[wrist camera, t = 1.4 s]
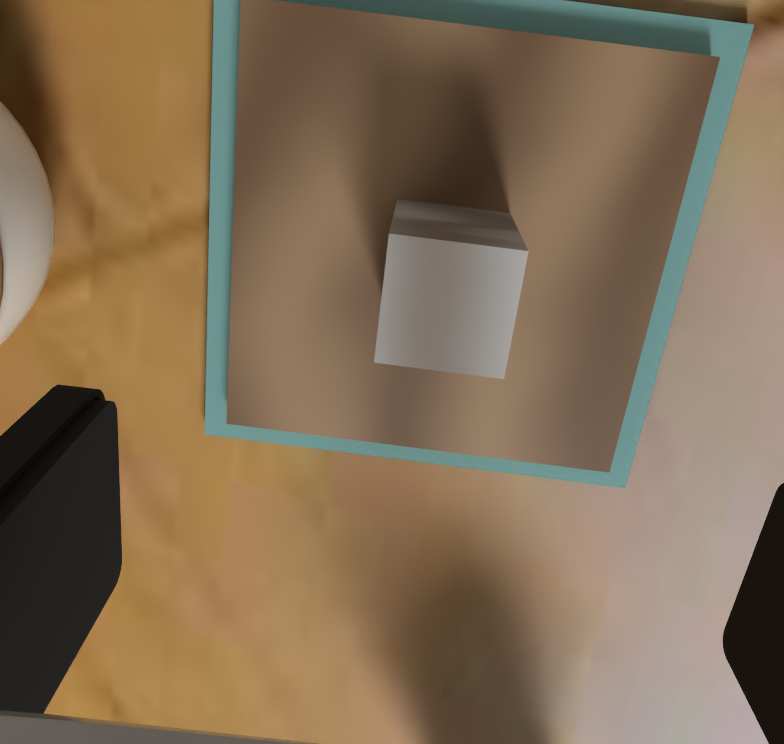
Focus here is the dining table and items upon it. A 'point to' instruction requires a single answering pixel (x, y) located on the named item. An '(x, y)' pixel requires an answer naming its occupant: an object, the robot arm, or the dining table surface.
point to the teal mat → (509, 12)
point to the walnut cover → (450, 229)
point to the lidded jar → (22, 224)
